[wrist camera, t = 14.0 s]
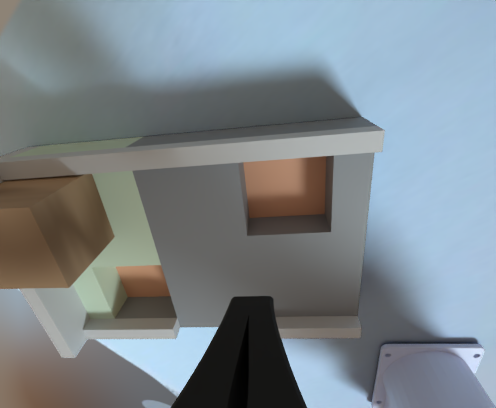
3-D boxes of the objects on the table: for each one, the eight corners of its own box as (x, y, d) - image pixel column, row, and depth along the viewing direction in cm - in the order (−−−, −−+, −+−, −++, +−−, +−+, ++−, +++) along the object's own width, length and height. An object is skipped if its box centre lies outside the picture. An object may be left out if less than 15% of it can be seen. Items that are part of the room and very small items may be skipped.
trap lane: (347, 299, 22) (367, 359, 17) (100, 303, 24) (62, 357, 20) (362, 117, 16) (398, 138, 11) (27, 146, 18) (-53, 174, 14)
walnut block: (114, 236, 18) (69, 287, 14) (50, 239, 18) (-12, 289, 14) (91, 170, 16) (29, 207, 12) (18, 175, 16) (-64, 211, 12)
